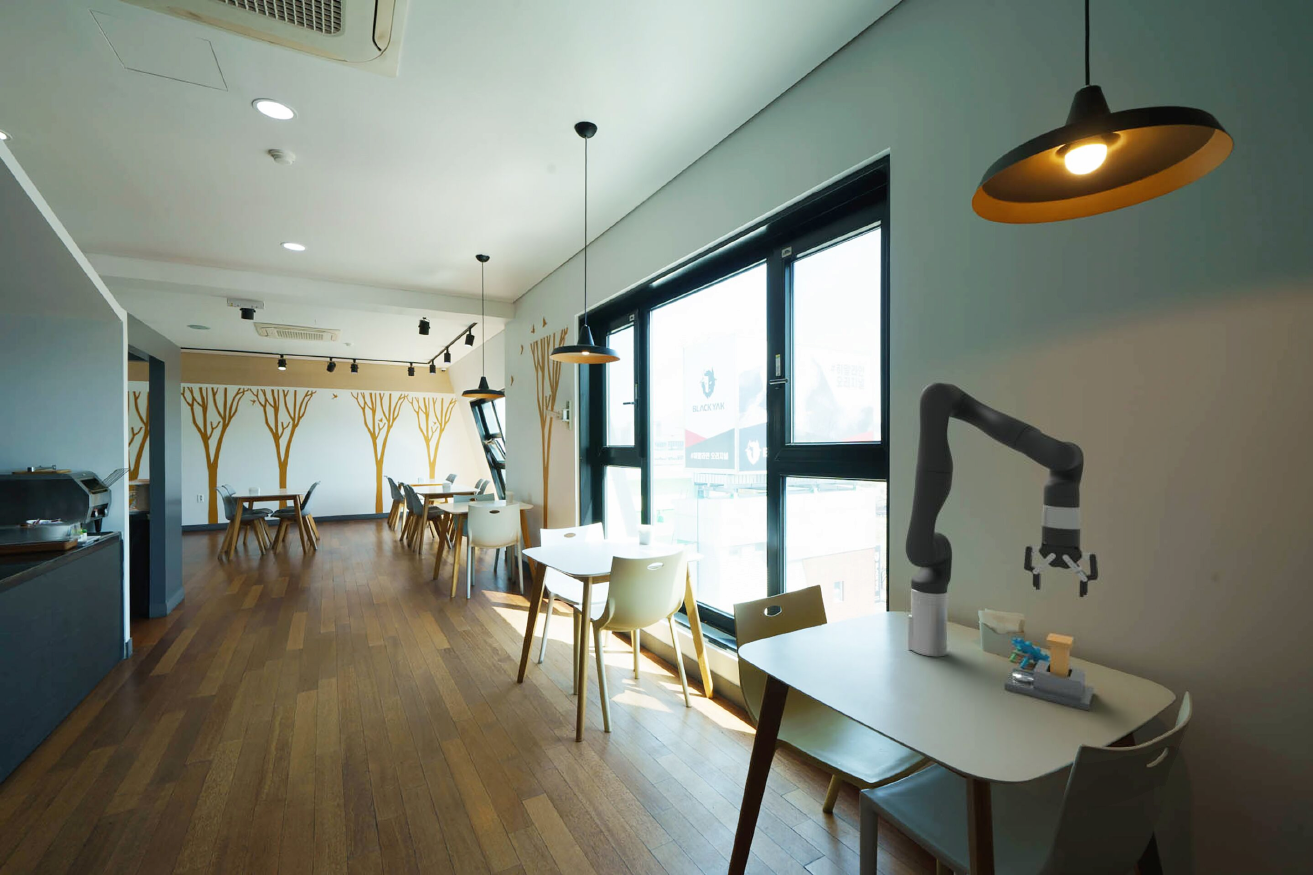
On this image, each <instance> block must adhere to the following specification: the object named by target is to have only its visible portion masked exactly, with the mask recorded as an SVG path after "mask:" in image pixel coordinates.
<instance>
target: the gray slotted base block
mask: <svg viewBox="0 0 1313 875" xmlns="http://www.w3.org/2000/svg"><path fill="white" fill-rule="evenodd" d="M1004 690H1007V691H1009V692H1014V693H1018V694H1021V695H1026V696H1029V697H1033V698H1037V699H1041V700H1045V701H1048V702H1052V703H1056V704H1060V705H1062V706H1063V705H1065V706H1068V707H1071V708H1076V709H1078V710H1079V709H1080V710H1083V711H1087V712H1089V711H1090V709H1091V708H1090V707H1091V705H1092V700H1093V696H1094V686H1091V685H1087V684H1086V670H1085V669H1082V668H1078V667H1074V666H1073V667H1072V666H1069V677H1068V676H1063V675H1059V674H1055V673H1050V662H1046V661H1042V660H1039V661H1038V663H1036V665H1035V667H1034V669H1033V671H1032V672H1031V671H1027V670H1023V669H1018V668H1012V671H1011V672H1010V674H1009V675H1008V676H1007V679H1006V680H1005V682H1004Z"/></svg>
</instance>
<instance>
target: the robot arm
mask: <svg viewBox="0 0 1313 875" xmlns="http://www.w3.org/2000/svg"><path fill="white" fill-rule="evenodd" d="M950 418H953V419H956V420H959V421H962V422H965V423H967V424H969V425H972V426H973V427H976V428H977V429H978V430H980V431H982V432H983V433H985V434H986V435H987V436H988V437H990V438H991V439H993V440H994V441H996V442H998V443H1000V444H1002V445H1003V446H1006V447H1008V448H1010V449H1012V450H1014V451H1016V452H1018V453H1021V454H1023V455H1025V456H1026V457H1028V458H1029V459H1031V460H1032V461H1034V462H1035V463H1037V464H1038V465H1041V466H1043V467H1045V468H1047V469H1048V470H1049V472H1048V478H1047V479H1048V480H1047V481H1046V482H1045V484H1044V487H1043V501H1042V502H1043V507H1042V513H1041V545H1040V547H1037V546H1033V545H1031V544H1028V545H1027V546H1026V547H1025V552H1024V563H1023V569H1024V570H1025V571H1028V572H1030V573H1031V574H1032V586H1033V587H1034V588H1035V590H1036V591H1040V590H1041V588H1042V587H1041V584H1042V582H1041V581H1042V574H1041V571H1042V570H1044V569H1045V568H1046V566H1050V567H1052V568H1061V569H1064V570H1069V569H1071V570H1072V571H1073V572H1074V573H1075V574H1076V575H1077V576H1078V578H1079V579H1080V580H1079V592H1078V593H1079V596H1078V597H1079V598H1084V596H1087V595H1088V593H1089V589H1088V588H1089V582H1091V581H1097V580H1098V578H1099V568H1098V554H1097V553H1096V552H1082V550H1081V526H1082V521H1081V509H1080V503H1081V502H1080V500H1081V498H1080V496H1081V495H1080V485H1081V481H1082V476H1083V472H1084V464H1085V462H1084V460H1085V459H1084V457H1085V456H1084V453H1083V450H1082V449H1081V447H1080V446H1079V445H1077V444H1076V443H1074V442H1071V441H1062V440H1059V439H1057V438H1055V437H1053V436H1050V435H1047V434H1045V433H1043V432H1042V431H1041V430H1040V429H1039V428H1037V427H1036V426H1033V425H1031V424H1029V423H1026V422H1025V421H1022V420H1020V419H1018V418H1015V417H1013V416H1011V415H1008V414H1006V413H1003V412H1002V411H999V410H997V409H995V408H992V407H990V406H988V405H987V404H984V403H983V402H981V401H980V400H978V399H976V398H975V397H973V396H971V395H970V394H968V393H967V392H965V391H964V390H962V389H961V388H960V387H958V386H957V385H954V384H952V383H944V382H932V383H930V384H928V385H927V386H926V387H924V388H923V390H922V391H921V394H920V397H919V439H918V448H917V459H916V465H915V475H914V476H915V477H914V489H913V490H914V491H913V499H912V509H911V516H910V521H909V526H908V530H907V535H906V539H905V540H906V541H905V553H906V558H907V559H908V561H909V562H910V563H911V564H912V565H913V566H915V567H918V568H919V570H918V572H917V573H916V574H915V575H914V576H913V577H911V581H910V583H911V584H910V614H909V615H908V618H907V619H908V622H907V623H908V627H907V628H908V630H907V631H908V632H907V634H908V635H907V636H908V638H907V639H908V640H907V647H908V648H907V650H911V651H912V652H915V653H917V654H920V655H922V656H928V657H944V656H946V655H947V654H948V653H947V652H948V587H949V585H950V582H951V578H952V577H951V576H952V565H953V562H952V561H953V551H952V550H953V549H952V544H951V542H950V540H949V539H948V537H947V536H946V535H945V534H943V533H941V532H935V531H936V522H937V519H938V516H939V514H940V511H941V510H942V508H943V506H944V505H945V503H946V501H947V499H948V497H949V495H950V492H951V490H952V486H953V484H952V483H953V472H954V462H953V457H952V451H951V449H950V444H949V441H948V440H949V438H948V429H949V423H950V422H949V421H950ZM1037 553H1039V554H1040V556H1041V557H1042V559H1043V560H1042V561H1041V562H1040V563H1038V565H1037V566H1034V565H1033V556H1035V555H1036V554H1037ZM1083 558H1084V560H1085V562H1086V563H1088V564H1089V573H1088V574H1087V573H1086V572H1085V570H1083V567H1082V566H1081V565H1080V564H1079V561H1080V560H1081V559H1083Z"/></svg>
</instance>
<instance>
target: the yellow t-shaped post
mask: <svg viewBox="0 0 1313 875" xmlns="http://www.w3.org/2000/svg"><path fill="white" fill-rule="evenodd" d="M1045 640H1046V642H1045V644H1046V646H1048V647H1050V656H1049V657H1050V658H1049V659H1050V673H1055V674H1059V675H1063V676H1068V677H1069V667H1070V651H1072V648H1073V646H1074V643H1075V642H1074V637H1073V636H1067V635H1062V634H1058V633H1051V632H1050V633H1049V634H1048V636H1047V638H1046V639H1045Z"/></svg>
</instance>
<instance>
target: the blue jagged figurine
mask: <svg viewBox="0 0 1313 875" xmlns="http://www.w3.org/2000/svg"><path fill="white" fill-rule="evenodd" d="M1011 644H1012V646H1013V645H1014V646H1018V647H1017V649H1016V650H1012V653H1013V654H1012V655H1011V657H1010V658H1009V661H1010V662H1014V660H1015V659H1016V657H1020V658H1023V661H1022V662H1021V663H1020V665H1019V667H1020V668H1022V669H1025V667H1026V666H1027V665H1028V664H1029V662H1030V661H1032V662H1033V663H1035V664H1037V663H1038V661H1039V660H1042V661H1046V662H1050V656H1049V655H1048V654H1047V653H1044V654H1043V653H1042V651H1043V650H1042V649H1041V648H1040V647H1038V646H1036V647H1035V646H1033V644H1032V643H1031V642H1030V641H1024V639H1022V638H1020V637H1018V638H1016V637H1014V638H1013V639H1012V642H1011Z"/></svg>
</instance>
